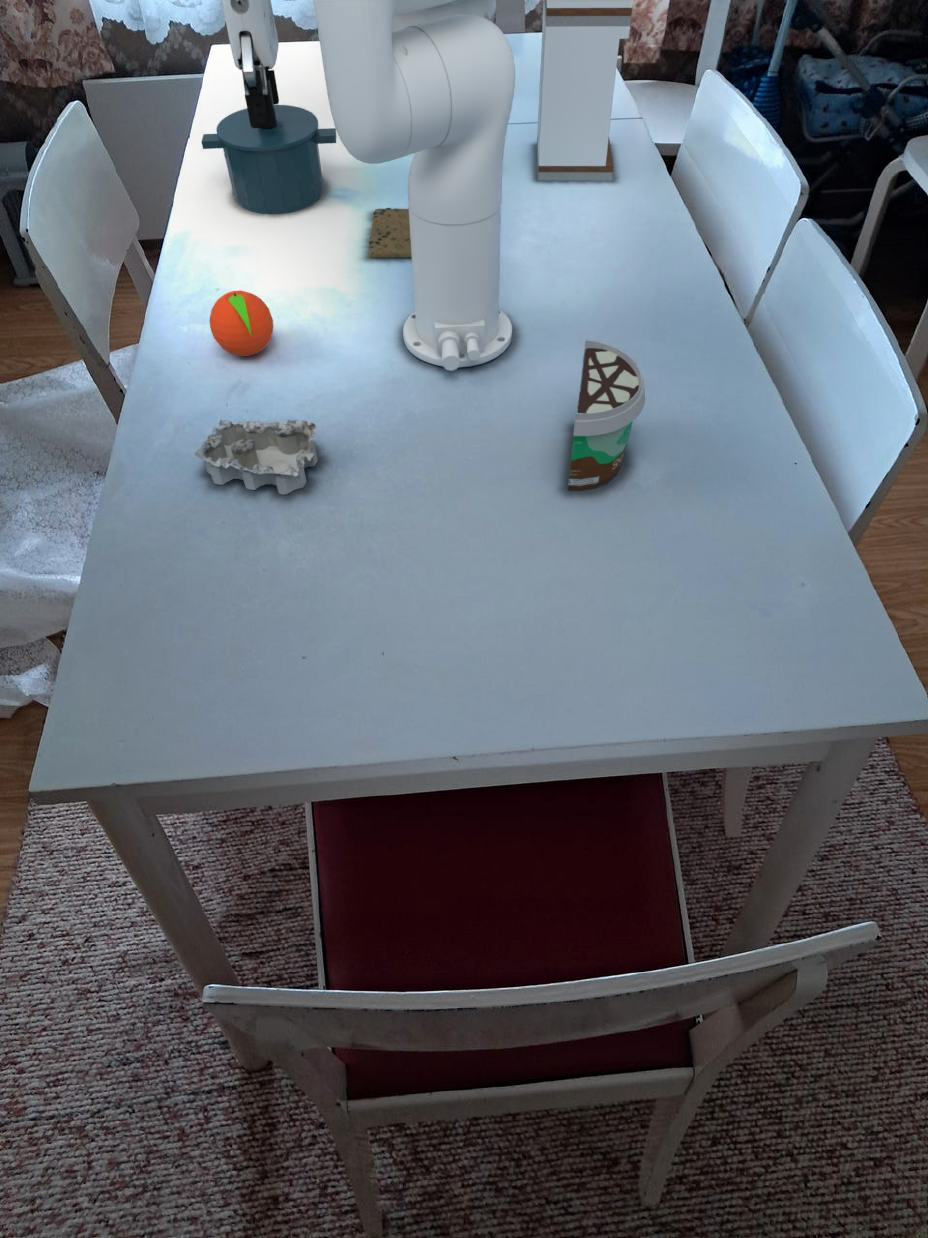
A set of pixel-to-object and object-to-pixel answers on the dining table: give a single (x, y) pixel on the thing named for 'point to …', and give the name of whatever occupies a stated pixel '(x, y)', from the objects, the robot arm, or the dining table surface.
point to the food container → (604, 415)
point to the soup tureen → (448, 12)
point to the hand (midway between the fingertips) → (265, 113)
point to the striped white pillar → (578, 87)
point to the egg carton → (260, 453)
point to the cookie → (390, 233)
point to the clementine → (241, 323)
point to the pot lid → (287, 132)
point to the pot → (275, 174)
